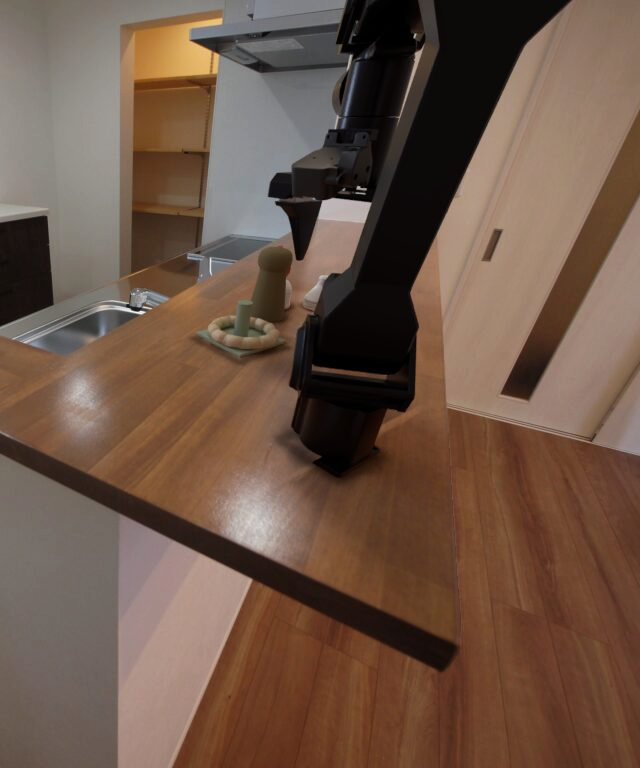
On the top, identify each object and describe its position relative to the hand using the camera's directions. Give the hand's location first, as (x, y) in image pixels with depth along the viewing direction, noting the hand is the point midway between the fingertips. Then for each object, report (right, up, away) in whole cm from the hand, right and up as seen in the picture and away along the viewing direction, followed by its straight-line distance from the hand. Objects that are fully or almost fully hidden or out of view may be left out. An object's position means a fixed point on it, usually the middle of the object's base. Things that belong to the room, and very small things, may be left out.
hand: (331, 268), depth 52 cm
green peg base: (-9, -8, +10) cm, 15 cm away
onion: (+4, +6, +34) cm, 35 cm away
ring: (-9, -7, +8) cm, 14 cm away
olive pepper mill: (-2, -3, +20) cm, 20 cm away
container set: (+9, -1, +23) cm, 25 cm away
